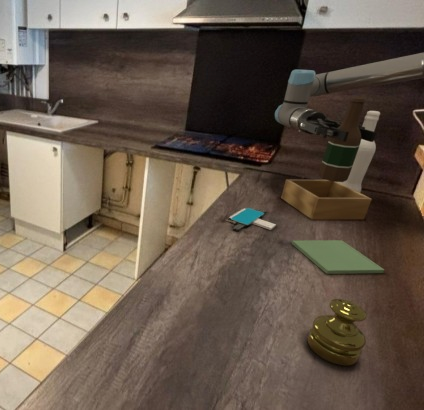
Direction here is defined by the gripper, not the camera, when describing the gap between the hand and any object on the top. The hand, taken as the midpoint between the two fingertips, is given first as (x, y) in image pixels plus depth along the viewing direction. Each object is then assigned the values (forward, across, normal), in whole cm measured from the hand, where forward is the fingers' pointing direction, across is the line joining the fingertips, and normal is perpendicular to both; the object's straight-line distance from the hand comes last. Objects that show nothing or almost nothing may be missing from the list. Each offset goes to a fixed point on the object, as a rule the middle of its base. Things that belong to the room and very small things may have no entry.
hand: (359, 136), depth 100 cm
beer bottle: (-5, 0, -14) cm, 15 cm away
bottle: (-20, -19, -26) cm, 38 cm away
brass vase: (+51, +36, -26) cm, 68 cm away
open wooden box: (-9, -2, -26) cm, 27 cm away
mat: (+21, +15, -26) cm, 37 cm away
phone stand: (+1, +26, -26) cm, 37 cm away
